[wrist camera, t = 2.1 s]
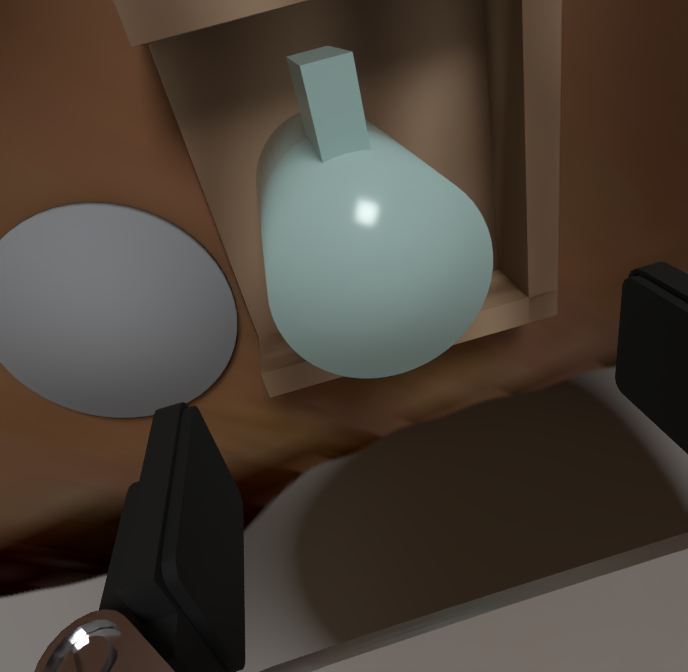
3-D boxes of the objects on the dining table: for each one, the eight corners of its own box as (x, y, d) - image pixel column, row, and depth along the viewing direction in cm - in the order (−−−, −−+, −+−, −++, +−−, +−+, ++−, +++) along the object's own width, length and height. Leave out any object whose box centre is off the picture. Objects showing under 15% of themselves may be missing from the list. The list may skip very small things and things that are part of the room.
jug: (371, 25, 21) (478, 25, 11) (404, 228, 25) (498, 345, 16) (216, 66, 20) (197, 101, 11) (279, 263, 25) (302, 402, 16)
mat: (185, 171, 23) (184, 174, 22) (265, 376, 29) (266, 382, 29) (-78, 243, 22) (-85, 248, 22) (62, 434, 29) (59, 442, 28)
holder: (508, -100, 20) (563, -126, 16) (520, 281, 29) (557, 314, 26) (133, -1, 19) (110, -7, 16) (266, 353, 29) (270, 397, 25)
